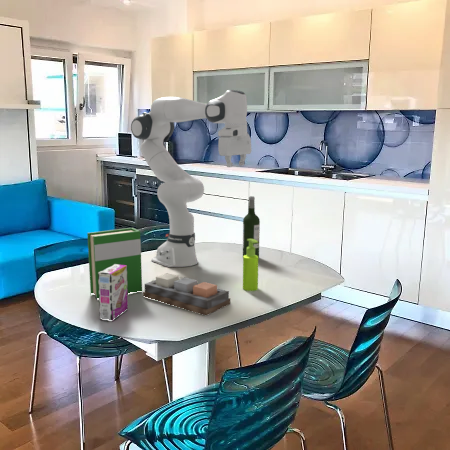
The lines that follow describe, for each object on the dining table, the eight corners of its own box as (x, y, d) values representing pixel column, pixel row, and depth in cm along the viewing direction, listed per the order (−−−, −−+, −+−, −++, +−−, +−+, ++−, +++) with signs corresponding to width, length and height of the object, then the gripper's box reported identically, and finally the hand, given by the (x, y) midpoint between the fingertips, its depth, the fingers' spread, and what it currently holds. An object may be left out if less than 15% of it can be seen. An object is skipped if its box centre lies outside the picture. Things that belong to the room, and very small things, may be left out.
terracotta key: (193, 295, 171) (193, 286, 171) (203, 291, 176) (203, 281, 175) (206, 299, 168) (206, 289, 167) (217, 294, 173) (217, 285, 172)
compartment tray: (142, 297, 181) (142, 284, 180) (168, 287, 192) (168, 275, 191) (206, 315, 164) (206, 301, 163) (230, 303, 175) (230, 290, 174)
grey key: (174, 290, 177) (173, 281, 176) (184, 286, 181) (184, 277, 181) (186, 294, 173) (186, 284, 172) (197, 289, 178) (197, 280, 177)
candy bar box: (112, 322, 158) (110, 273, 155) (99, 320, 160) (96, 272, 156) (129, 310, 169) (127, 264, 165) (116, 308, 170) (114, 263, 167)
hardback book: (97, 301, 177) (93, 236, 173) (90, 295, 184) (87, 232, 179) (142, 292, 187) (140, 231, 182) (134, 286, 193) (132, 227, 188)
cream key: (156, 285, 182) (155, 276, 181) (167, 281, 187) (166, 273, 186) (167, 289, 178) (167, 279, 178) (178, 284, 183) (178, 275, 182)
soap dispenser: (248, 292, 187) (249, 241, 183) (240, 287, 193) (240, 238, 189) (262, 290, 189) (262, 240, 185) (252, 285, 195) (253, 236, 191)
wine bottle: (259, 260, 231) (260, 197, 225) (242, 260, 232) (243, 197, 226) (258, 256, 239) (259, 195, 233) (242, 256, 239) (243, 195, 233)
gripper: (242, 131, 205) (242, 164, 208) (215, 131, 188) (215, 167, 191) (255, 131, 202) (254, 164, 205) (229, 131, 185) (229, 168, 188)
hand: (235, 166), depth 198 cm, fingers open, 8 cm apart
